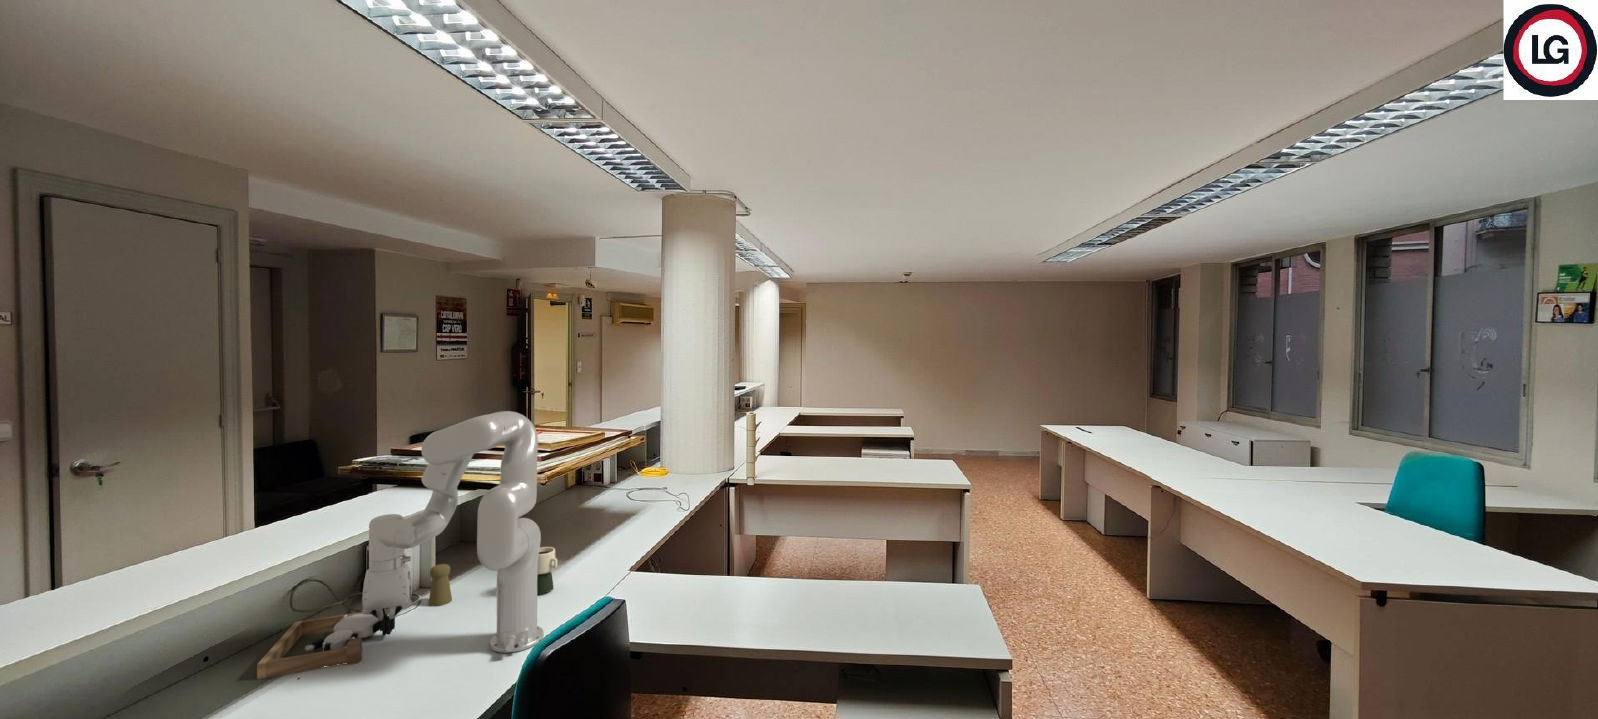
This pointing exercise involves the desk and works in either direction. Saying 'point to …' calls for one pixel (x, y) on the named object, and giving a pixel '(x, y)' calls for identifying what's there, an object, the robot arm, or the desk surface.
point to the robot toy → (347, 632)
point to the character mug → (545, 569)
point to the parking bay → (278, 665)
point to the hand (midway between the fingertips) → (387, 632)
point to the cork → (440, 585)
